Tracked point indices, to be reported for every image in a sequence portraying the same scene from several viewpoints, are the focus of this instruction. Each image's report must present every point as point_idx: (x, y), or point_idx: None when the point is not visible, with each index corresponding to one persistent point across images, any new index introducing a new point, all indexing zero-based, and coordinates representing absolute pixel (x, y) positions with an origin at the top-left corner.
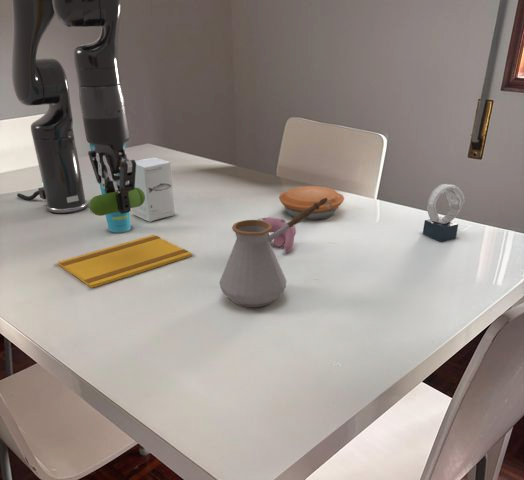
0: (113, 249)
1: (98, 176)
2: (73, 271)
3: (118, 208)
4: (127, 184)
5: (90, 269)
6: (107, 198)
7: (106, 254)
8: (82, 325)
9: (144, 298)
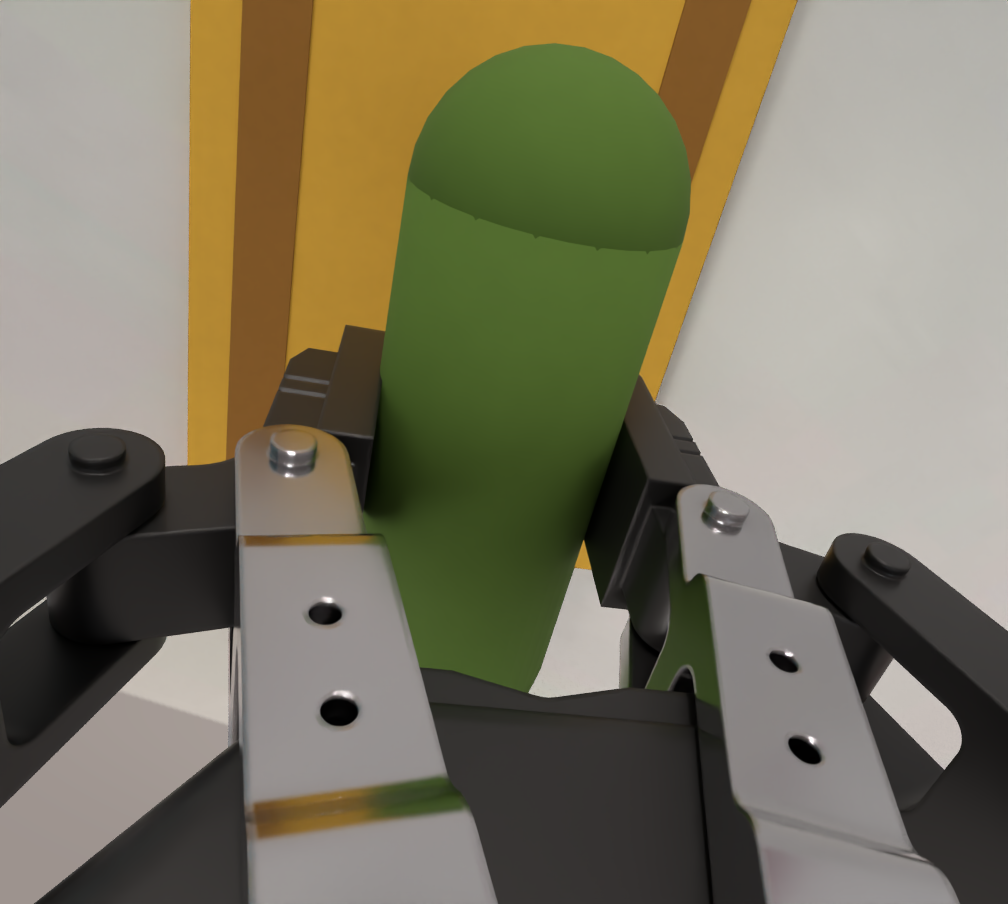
0: (265, 198)
1: (117, 689)
2: None
3: None
4: (869, 663)
5: None
6: (535, 643)
7: (306, 286)
8: None
9: (884, 487)
